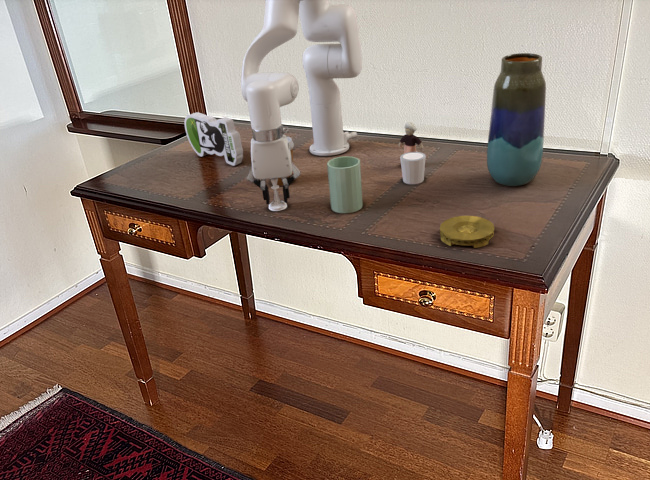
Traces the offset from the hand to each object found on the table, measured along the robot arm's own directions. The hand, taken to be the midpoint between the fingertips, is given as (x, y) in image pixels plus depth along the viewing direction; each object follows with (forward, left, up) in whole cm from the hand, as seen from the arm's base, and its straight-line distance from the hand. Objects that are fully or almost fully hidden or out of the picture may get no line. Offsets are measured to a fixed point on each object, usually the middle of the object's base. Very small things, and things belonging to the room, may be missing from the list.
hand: (277, 200), depth 166 cm
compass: (-26, +44, -2) cm, 51 cm away
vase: (-56, +28, -2) cm, 63 cm away
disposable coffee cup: (-9, -15, -2) cm, 18 cm away
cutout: (-2, -47, -2) cm, 47 cm away
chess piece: (0, 0, -2) cm, 2 cm away
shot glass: (-37, +10, -2) cm, 38 cm away
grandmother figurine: (-43, +1, -2) cm, 43 cm away
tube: (-14, +12, -2) cm, 19 cm away
